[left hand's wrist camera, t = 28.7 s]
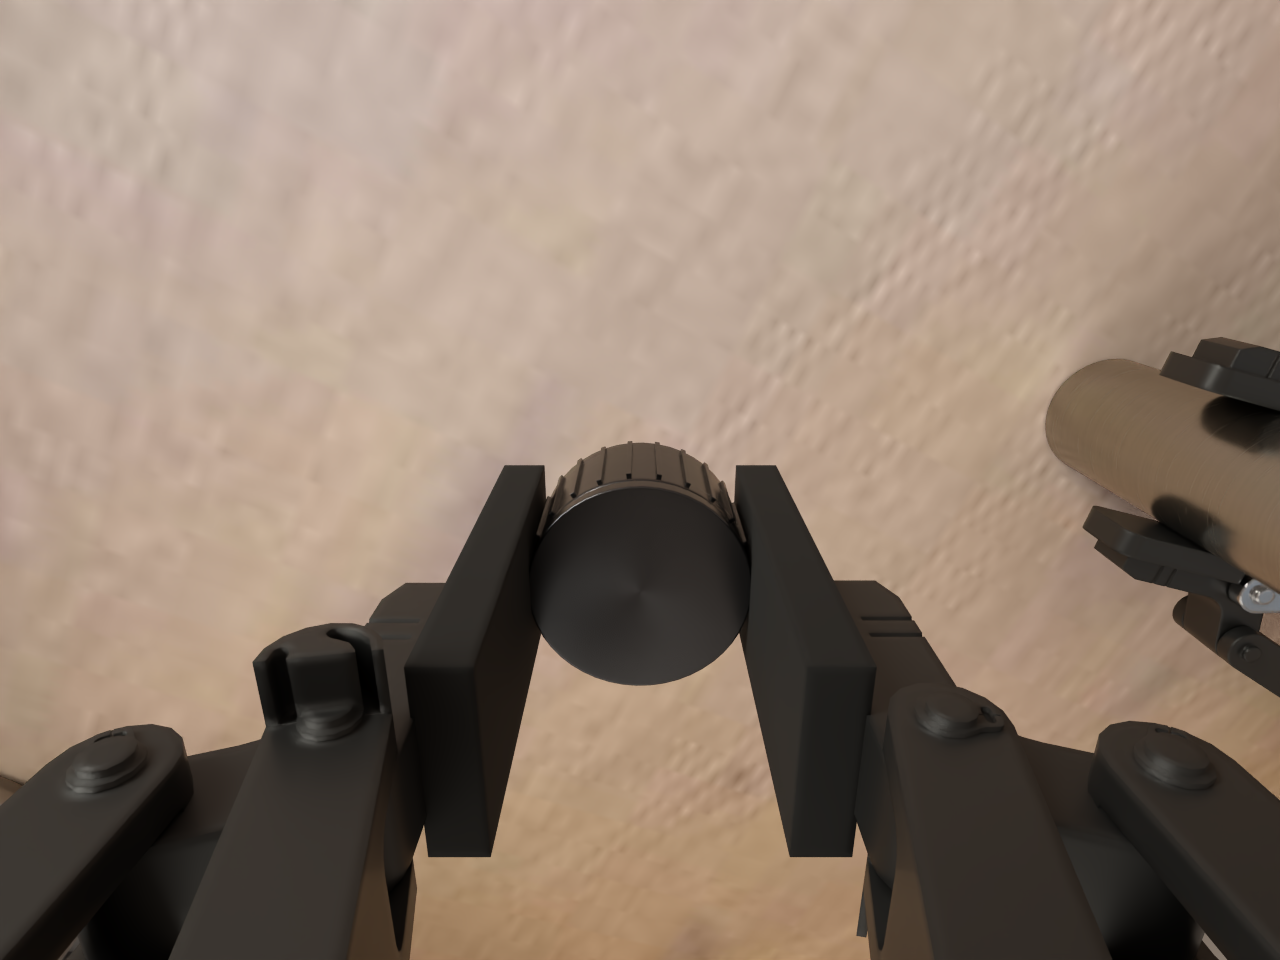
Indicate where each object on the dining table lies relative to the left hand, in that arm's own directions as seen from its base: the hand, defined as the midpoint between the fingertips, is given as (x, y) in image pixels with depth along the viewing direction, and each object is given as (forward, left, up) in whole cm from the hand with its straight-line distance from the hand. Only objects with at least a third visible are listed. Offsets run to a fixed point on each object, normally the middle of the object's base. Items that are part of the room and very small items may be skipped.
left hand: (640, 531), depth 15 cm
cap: (0, 0, +2) cm, 2 cm away
